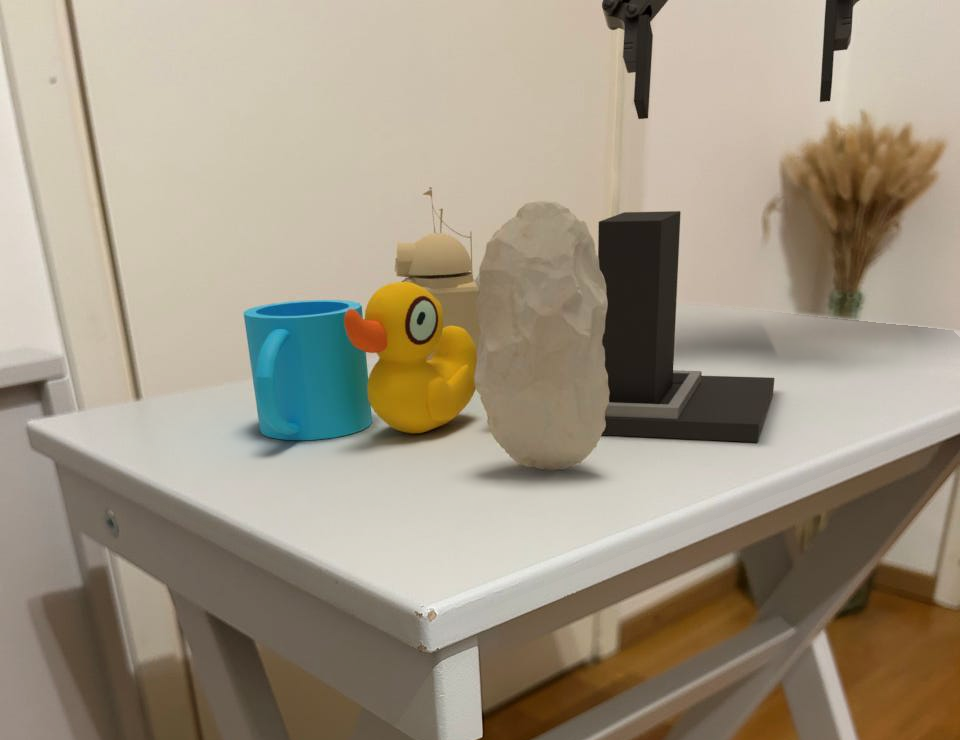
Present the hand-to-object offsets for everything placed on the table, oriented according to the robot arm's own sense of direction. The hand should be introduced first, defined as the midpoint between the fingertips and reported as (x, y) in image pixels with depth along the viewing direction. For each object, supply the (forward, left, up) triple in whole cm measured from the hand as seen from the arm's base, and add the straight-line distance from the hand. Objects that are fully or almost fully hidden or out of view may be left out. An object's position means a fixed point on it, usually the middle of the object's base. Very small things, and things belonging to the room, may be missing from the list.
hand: (730, 101), depth 75 cm
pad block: (+4, +16, -19) cm, 25 cm away
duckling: (+18, +23, -20) cm, 35 cm away
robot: (+23, +7, -20) cm, 31 cm away
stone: (+7, +30, -20) cm, 37 cm away
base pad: (+4, +15, -20) cm, 25 cm away
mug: (+26, +25, -20) cm, 41 cm away
